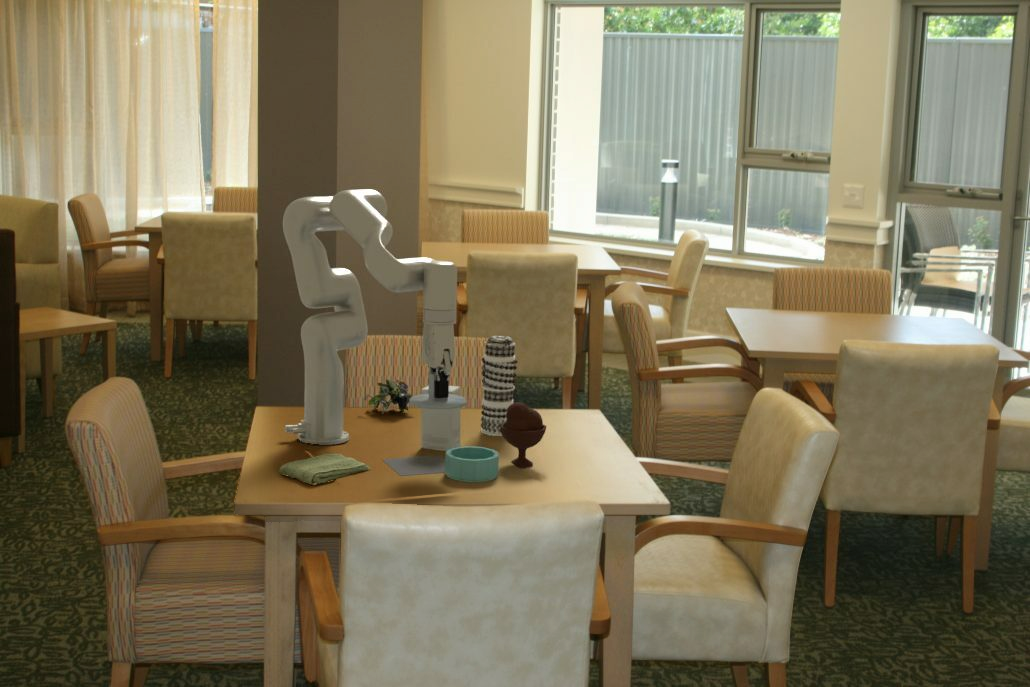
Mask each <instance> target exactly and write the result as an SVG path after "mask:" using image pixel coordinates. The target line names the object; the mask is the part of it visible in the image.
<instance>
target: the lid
mask: <svg viewBox="0 0 1030 687" xmlns="http://www.w3.org/2000/svg"><path fill="white" fill-rule="evenodd" d="M435 381H436V372H431V373H429V375H428V385H429V394H421V393H420V394H416V395H413V396H412V397H411V398H410V402H409V404H410V405H411V406H412V407H417V408H420V409H421V408H426V409H453V408H459V407H460V408H463V407H465V406H467V398H466V397H464V396H462V395H460V396H458V395H453V394H449V396H448V398H435V397H434V391H435Z"/></svg>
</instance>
